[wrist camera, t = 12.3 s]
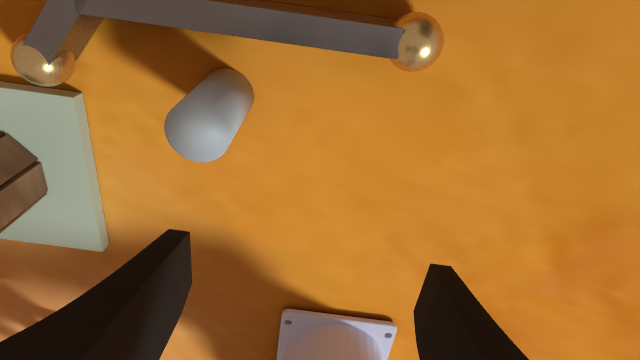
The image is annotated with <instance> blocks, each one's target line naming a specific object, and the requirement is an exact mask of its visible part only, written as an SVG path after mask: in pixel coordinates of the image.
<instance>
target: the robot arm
mask: <svg viewBox="0 0 640 360" xmlns="http://www.w3.org/2000/svg"><path fill="white" fill-rule="evenodd" d="M191 284H192V271H191V249H190V232H187V231H179V230H172V229H169V230H167V231H166V232H165V233H163V234H162V235H161V236H159V237H158V238H157V239H156V240H155V241H153V242H152V243H151V244H150V245H148V246H147V247H146V248H145V249H143V250H142V251H141V252H140V253H138V254H137V255H136V256H135V257H133V258H132V259H131V260H129V261H128V262H127V263H126V264H124V265H123V266H122V267H120V268H119V269H118V270H116V271H115V272H114V273H112V274H111V275H110V276H108V277H107V278H106V279H104V280H103V281H101V282H100V283H98V284H97V285H96V286H94V287H93V288H91V289H90V290H88V291H87V292H86V293H84V294H83V295H81V296H80V297H78V298H77V299H75V300H74V301H72V302H71V303H69V304H67V305H66V306H64V307H63V308H61V309H59V310H58V311H56V312H54V313H53V314H51V315H49V316H48V317H46V318H44V319H43V320H41V321H39V322H37V323H35V324H34V325H32V326H30V327H28V328H26V329H24V330H22V331H20V332H18V333H17V334H15V335H13V336H11V337H9V338H7V339H5V340H3V341H1V342H0V360H159V359H160V357H161V355H162V353H163V351H164V349H165V347H166V345H167V343H168V340H169V338H170V336H171V334H172V332H173V330H174V328H175V326H176V324H177V322H178V320H179V318H180V316H181V313H182V310H183V308H184V305H185V302H186V299H187V296H188V293H189V290H190V287H191ZM287 320H289V321H287ZM414 323H415V334H416V343H417V348H418V353H419V358H420V360H529V359H528V358H527V357H526V356H525V355H524V354H523V353H522V352H521V351H520V349H519V348H518V347H517V346H516V345H515V344H514V343H513V342H512V341H511V340H510V339H509V337H508V336H507V335H506V334H505V333H504V332H503V331H502V329H501V328H500V327H499V326H498V325H497V324H496V322H495V321H494V320H493V319H492V318H491V316H490V315H489V314H488V313H487V312H486V310H485V309H484V308H483V307H482V305H481V304H480V303H479V302H478V300H477V299H476V298H475V297H474V295H473V294H472V293H471V291H470V290H469V289H468V288H467V286H466V285H465V284H464V282H463V281H462V280H461V279H460V277H459V276H458V275H457V273H456V272H455V271H454V270H453V269H452V267H451V266H445V265H437V264H430V266H429V269H428V272H427V275H426V278H425V281H424V283H423V286H422V289H421V292H420V295H419V297H418V300H417V303H416V306H415V309H414ZM396 332H397V327H396V324H395V323H393V322H390V321H382V320H374V319H366V318H358V317H351V316H343V315H335V314H327V313H319V312H312V311H304V310H296V309H285V310H284V311H283V312H282V316H281V325H280V333H279V342H278V351H277V359H276V360H387V359H388V356H389V353H390V350H391V347H392V344H393V341H394V338H395V335H396Z"/></svg>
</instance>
